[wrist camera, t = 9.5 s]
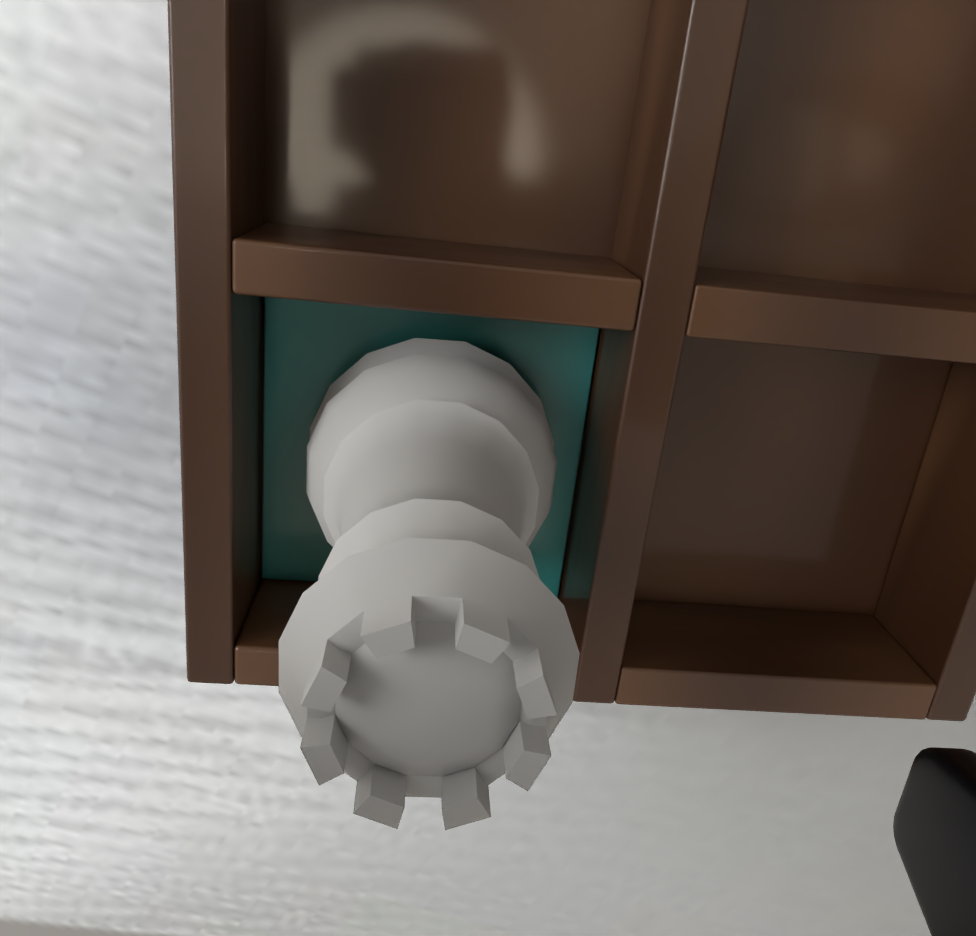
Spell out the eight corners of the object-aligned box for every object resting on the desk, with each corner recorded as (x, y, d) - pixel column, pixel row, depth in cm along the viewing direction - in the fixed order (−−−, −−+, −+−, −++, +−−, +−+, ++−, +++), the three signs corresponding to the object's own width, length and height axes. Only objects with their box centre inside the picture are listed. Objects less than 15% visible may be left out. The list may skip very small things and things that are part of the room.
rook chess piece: (453, 595, 17) (466, 959, 9) (263, 469, 16) (105, 773, 8) (599, 429, 16) (748, 691, 8) (408, 279, 14) (379, 427, 7)
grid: (1133, -130, 13) (1315, -200, 11) (886, 635, 19) (966, 722, 16) (218, -272, 12) (154, -396, 9) (226, 595, 17) (186, 683, 14)
